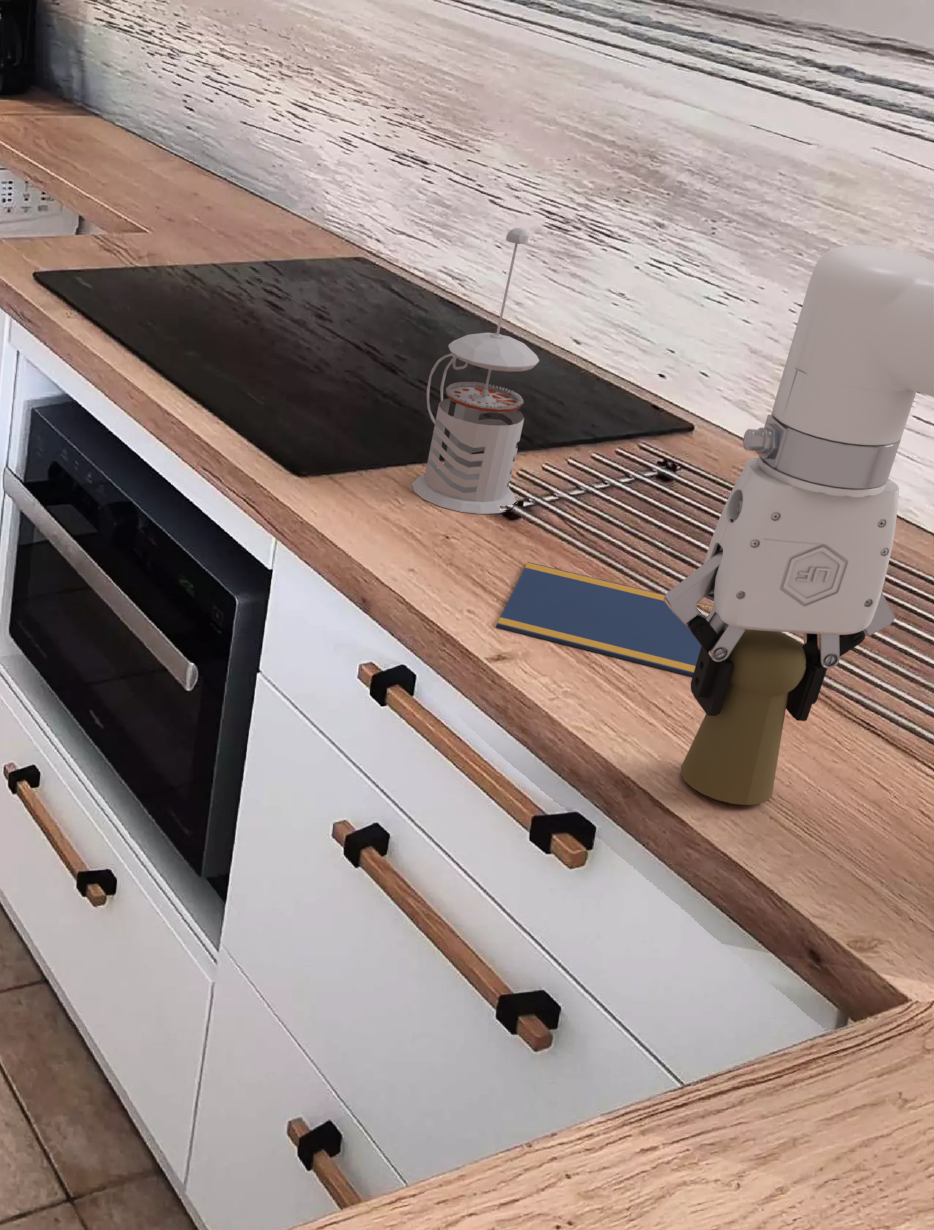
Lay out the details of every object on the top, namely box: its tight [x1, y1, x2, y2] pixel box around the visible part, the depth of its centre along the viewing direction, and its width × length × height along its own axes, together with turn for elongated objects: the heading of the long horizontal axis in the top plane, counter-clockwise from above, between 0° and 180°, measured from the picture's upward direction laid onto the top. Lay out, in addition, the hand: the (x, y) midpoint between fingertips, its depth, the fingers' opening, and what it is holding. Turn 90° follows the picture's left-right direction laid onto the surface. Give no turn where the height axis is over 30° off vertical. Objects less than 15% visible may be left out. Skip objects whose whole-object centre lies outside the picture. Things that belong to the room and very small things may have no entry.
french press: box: [411, 227, 540, 515], centre depth 157 cm, size 10×12×25 cm
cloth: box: [495, 561, 714, 678], centre depth 139 cm, size 18×14×1 cm
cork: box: [680, 629, 806, 806], centre depth 114 cm, size 6×6×11 cm
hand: (749, 705), depth 114 cm, fingers closed on cork, 5 cm apart
